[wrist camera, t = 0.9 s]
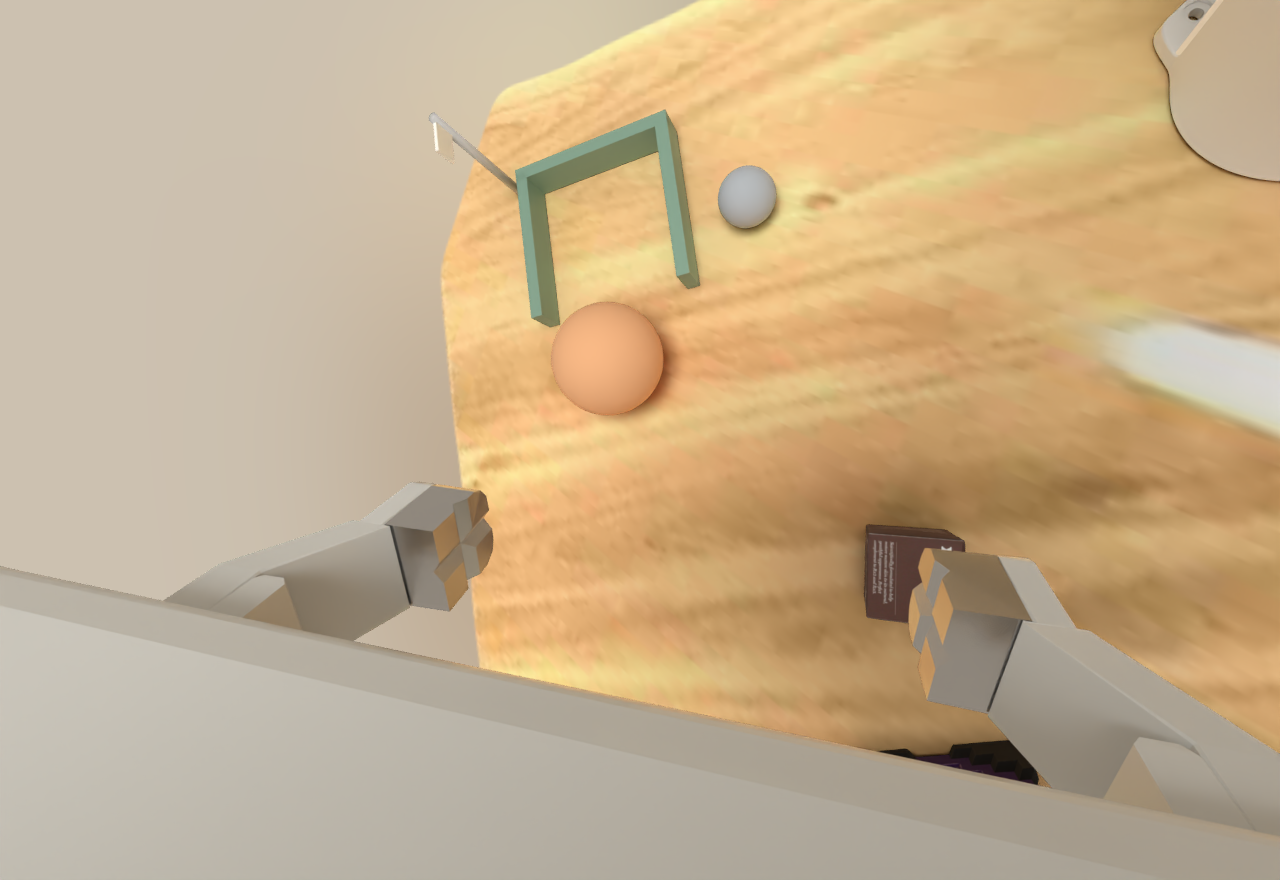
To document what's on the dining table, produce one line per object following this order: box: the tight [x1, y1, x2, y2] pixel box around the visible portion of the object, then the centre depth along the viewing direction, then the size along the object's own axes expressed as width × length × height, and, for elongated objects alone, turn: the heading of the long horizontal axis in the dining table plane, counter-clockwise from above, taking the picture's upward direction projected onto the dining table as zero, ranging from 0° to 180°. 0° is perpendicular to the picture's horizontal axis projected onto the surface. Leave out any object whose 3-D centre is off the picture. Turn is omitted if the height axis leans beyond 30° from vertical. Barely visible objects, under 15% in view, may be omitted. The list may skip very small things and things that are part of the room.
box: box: [864, 525, 965, 623], centre depth 40 cm, size 6×6×7 cm
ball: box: [551, 302, 663, 415], centre depth 49 cm, size 10×10×10 cm
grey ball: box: [718, 166, 776, 228], centre depth 48 cm, size 5×5×5 cm
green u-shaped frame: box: [429, 110, 700, 327], centre depth 49 cm, size 16×18×14 cm
